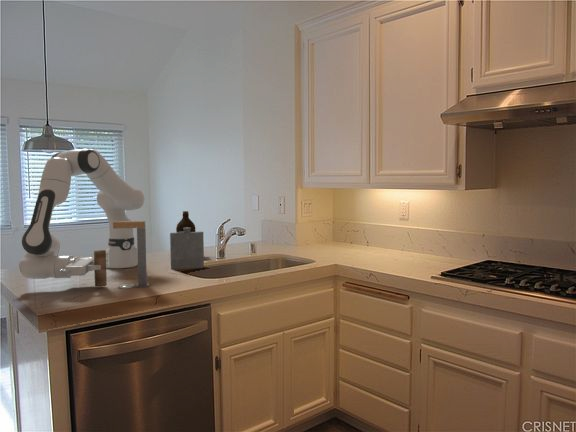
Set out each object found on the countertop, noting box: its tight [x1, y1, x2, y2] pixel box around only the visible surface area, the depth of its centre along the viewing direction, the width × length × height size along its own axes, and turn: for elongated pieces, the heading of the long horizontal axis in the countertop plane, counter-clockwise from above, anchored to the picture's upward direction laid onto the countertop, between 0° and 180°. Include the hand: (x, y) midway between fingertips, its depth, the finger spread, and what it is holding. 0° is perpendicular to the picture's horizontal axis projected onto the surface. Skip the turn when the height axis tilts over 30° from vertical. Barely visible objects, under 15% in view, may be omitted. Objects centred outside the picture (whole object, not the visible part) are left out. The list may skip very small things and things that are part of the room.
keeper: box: [113, 220, 150, 290], centre depth 189 cm, size 13×7×26 cm, turn 101°
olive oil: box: [175, 210, 196, 233], centre depth 264 cm, size 11×11×25 cm
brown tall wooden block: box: [93, 249, 108, 288], centre depth 187 cm, size 4×4×14 cm
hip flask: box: [169, 227, 205, 270], centre depth 227 cm, size 16×4×20 cm, turn 109°
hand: (102, 265), depth 187 cm, fingers closed on brown tall wooden block, 4 cm apart
